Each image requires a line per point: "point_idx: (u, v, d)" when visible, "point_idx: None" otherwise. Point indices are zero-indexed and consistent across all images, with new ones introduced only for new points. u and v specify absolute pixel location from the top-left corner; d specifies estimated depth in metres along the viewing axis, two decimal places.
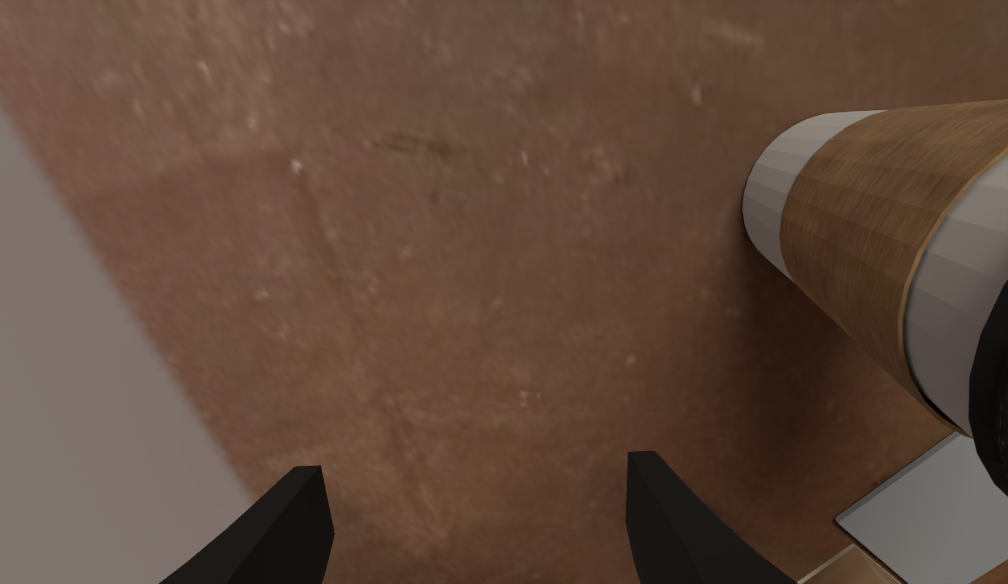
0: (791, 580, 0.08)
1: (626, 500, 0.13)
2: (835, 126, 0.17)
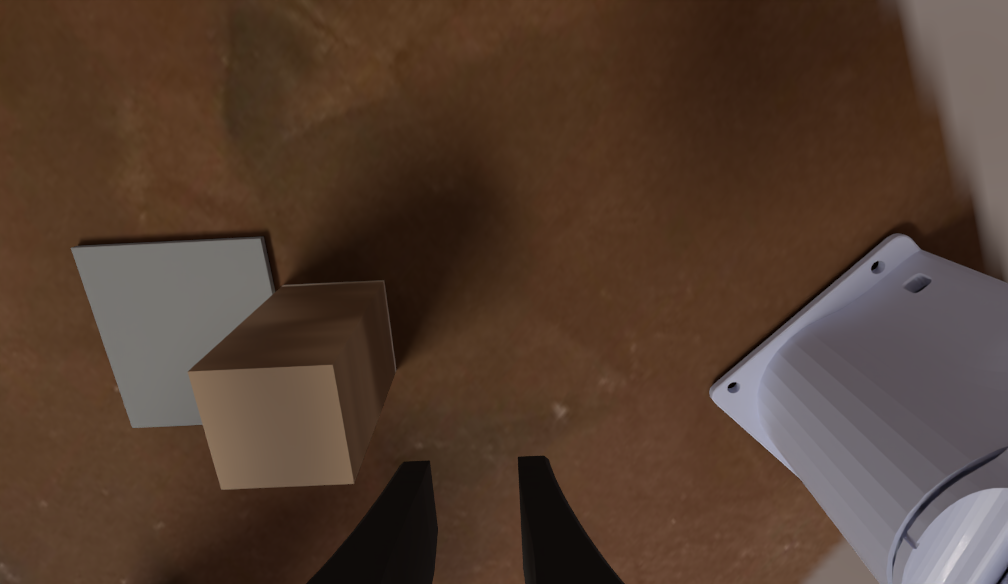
0: None
1: None
2: None
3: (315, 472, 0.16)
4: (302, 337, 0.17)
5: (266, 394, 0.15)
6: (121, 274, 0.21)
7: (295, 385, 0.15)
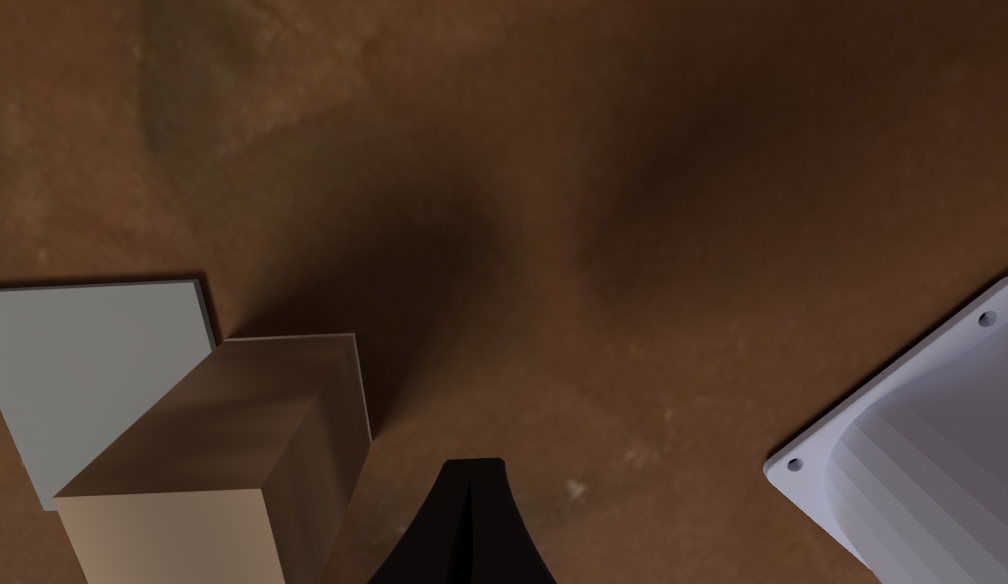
0: None
1: None
2: None
3: None
4: (230, 432, 0.12)
5: (167, 527, 0.11)
6: (17, 327, 0.16)
7: (208, 515, 0.11)
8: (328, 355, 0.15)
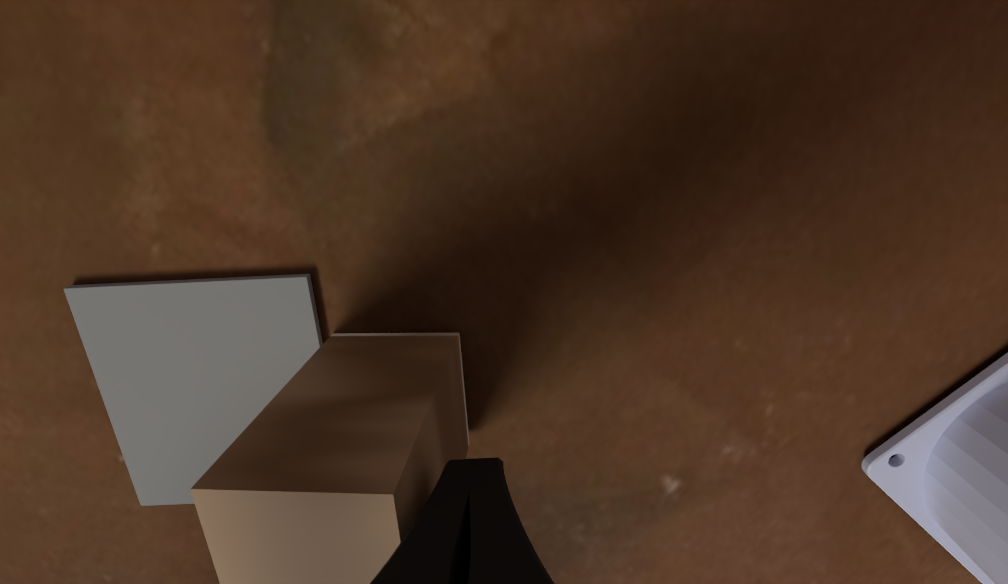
0: None
1: None
2: None
3: None
4: (352, 432, 0.12)
5: (297, 527, 0.11)
6: (128, 321, 0.16)
7: (338, 517, 0.10)
8: (437, 355, 0.15)
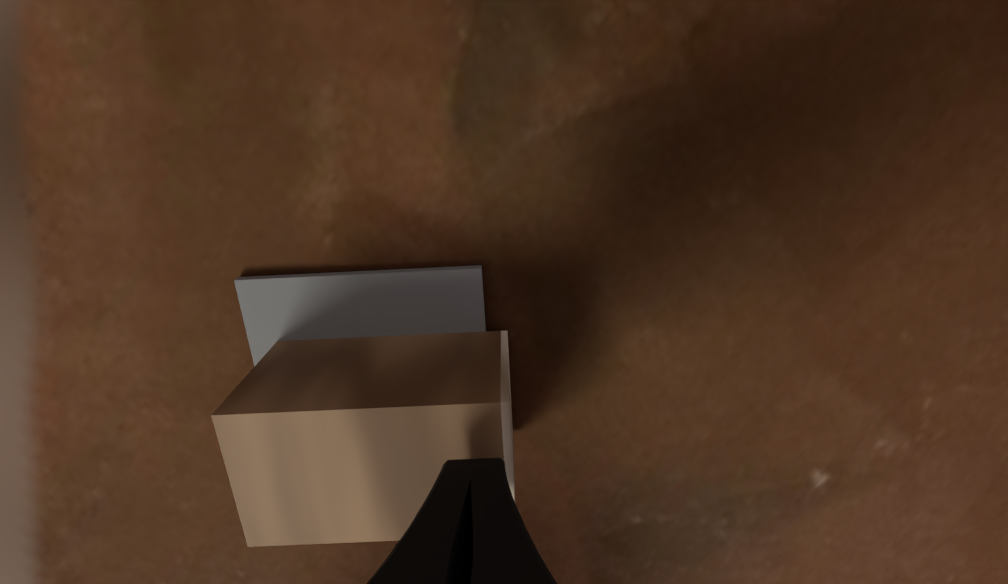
0: None
1: None
2: None
3: None
4: (311, 380, 0.14)
5: None
6: (295, 313, 0.16)
7: None
8: (447, 396, 0.13)
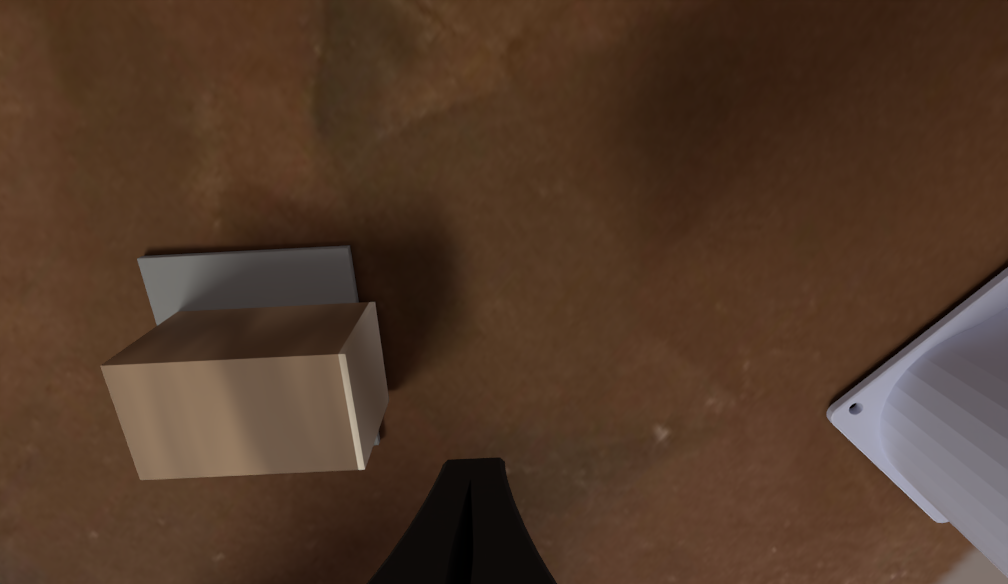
0: None
1: None
2: None
3: None
4: (193, 340, 0.17)
5: None
6: (191, 287, 0.19)
7: None
8: (297, 350, 0.16)
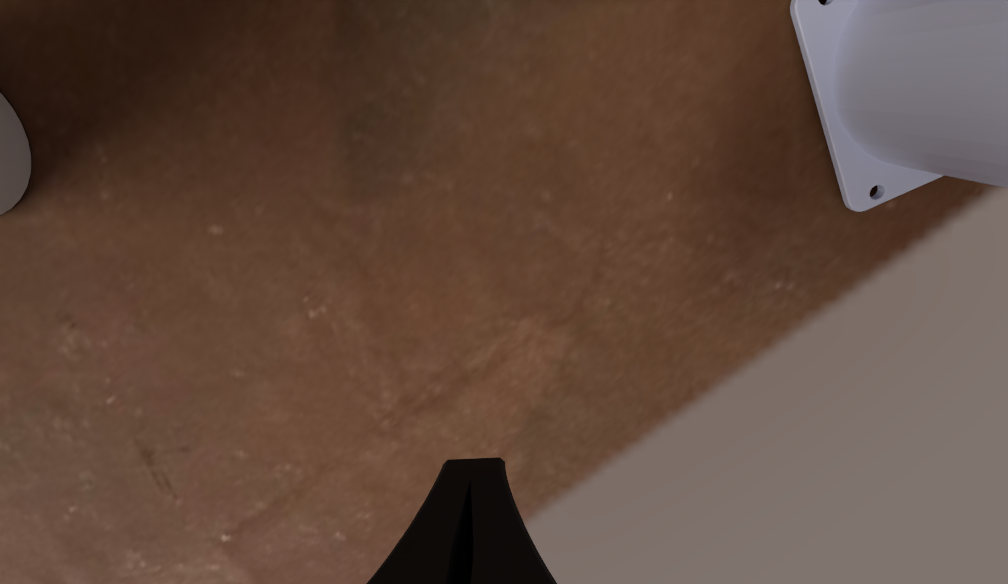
0: None
1: None
2: None
3: None
4: None
5: None
6: None
7: None
8: None
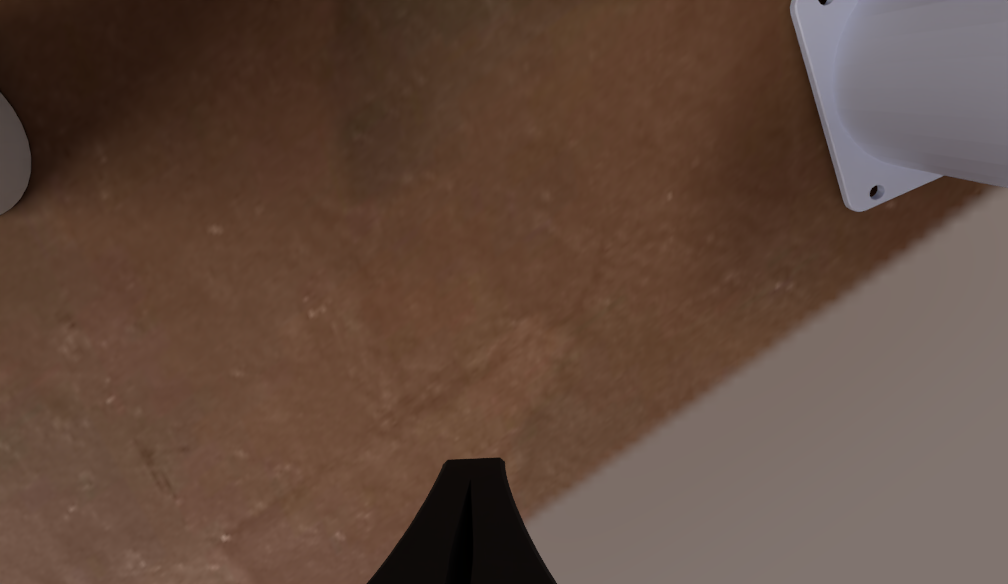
0: None
1: None
2: None
3: None
4: None
5: None
6: None
7: None
8: None
